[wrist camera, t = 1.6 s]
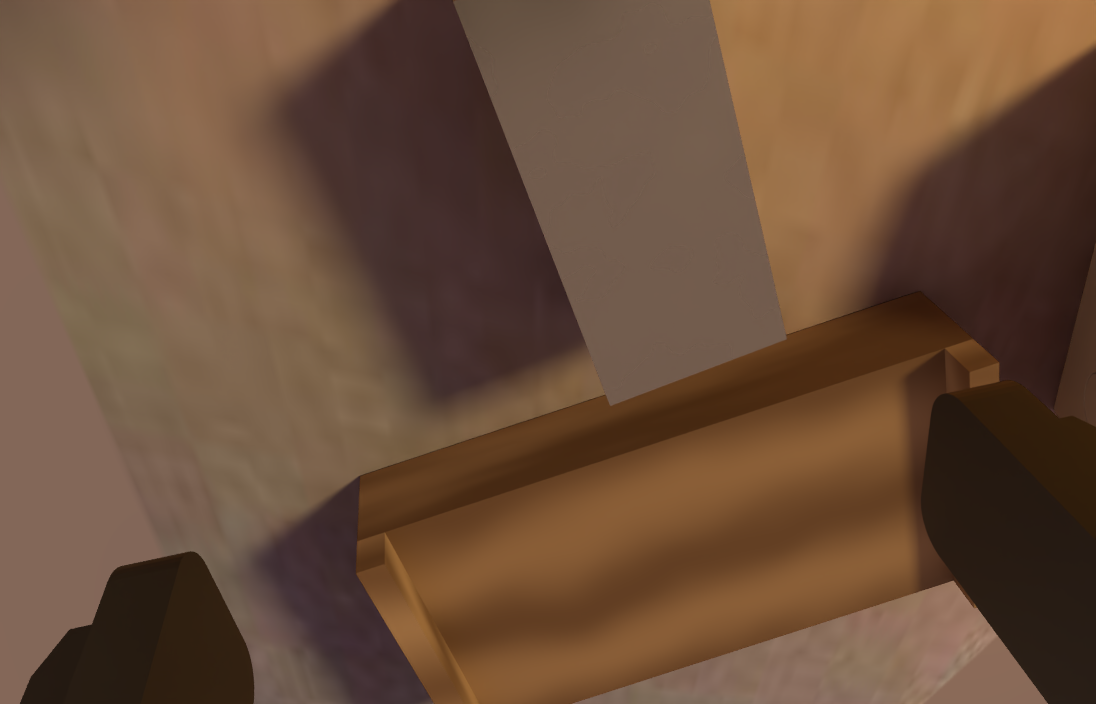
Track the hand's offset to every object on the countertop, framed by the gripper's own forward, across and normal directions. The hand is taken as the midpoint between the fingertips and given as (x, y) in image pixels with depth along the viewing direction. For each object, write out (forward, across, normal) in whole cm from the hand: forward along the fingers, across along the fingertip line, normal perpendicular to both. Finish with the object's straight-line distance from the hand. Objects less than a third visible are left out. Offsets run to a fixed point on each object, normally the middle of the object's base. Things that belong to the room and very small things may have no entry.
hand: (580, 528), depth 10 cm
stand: (+19, -5, +18) cm, 27 cm away
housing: (+20, -4, +2) cm, 20 cm away
